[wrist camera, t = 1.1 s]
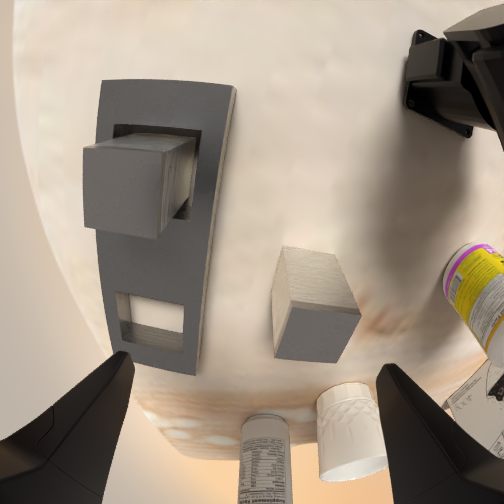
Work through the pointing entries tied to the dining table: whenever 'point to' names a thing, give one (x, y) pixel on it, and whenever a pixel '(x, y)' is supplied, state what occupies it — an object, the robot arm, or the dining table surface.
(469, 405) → the cereal box
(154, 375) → the dining table surface
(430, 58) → the robot arm
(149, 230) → the grey metal rectangular block
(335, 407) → the white cup
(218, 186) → the rail
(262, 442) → the energy drink can
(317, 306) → the brushed grey metal block
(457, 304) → the supplement bottle
